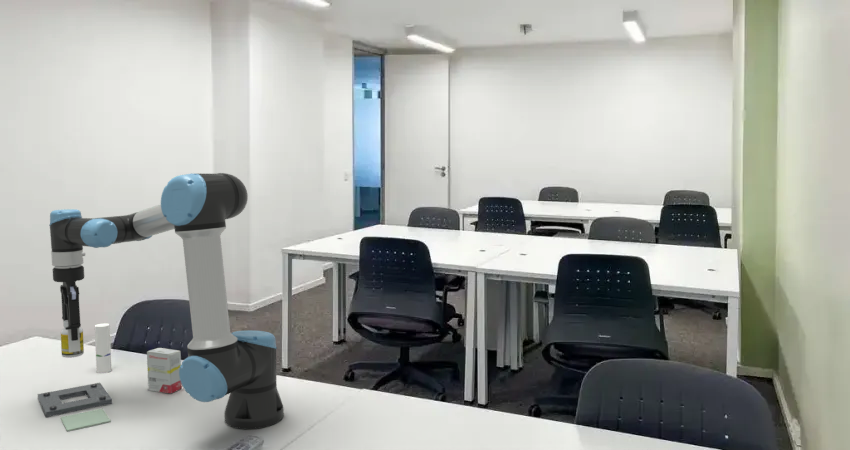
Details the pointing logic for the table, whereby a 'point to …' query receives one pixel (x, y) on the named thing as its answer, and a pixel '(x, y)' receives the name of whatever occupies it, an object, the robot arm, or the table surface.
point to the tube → (103, 348)
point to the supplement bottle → (65, 342)
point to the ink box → (164, 370)
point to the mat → (85, 419)
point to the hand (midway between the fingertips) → (72, 348)
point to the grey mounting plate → (55, 407)
